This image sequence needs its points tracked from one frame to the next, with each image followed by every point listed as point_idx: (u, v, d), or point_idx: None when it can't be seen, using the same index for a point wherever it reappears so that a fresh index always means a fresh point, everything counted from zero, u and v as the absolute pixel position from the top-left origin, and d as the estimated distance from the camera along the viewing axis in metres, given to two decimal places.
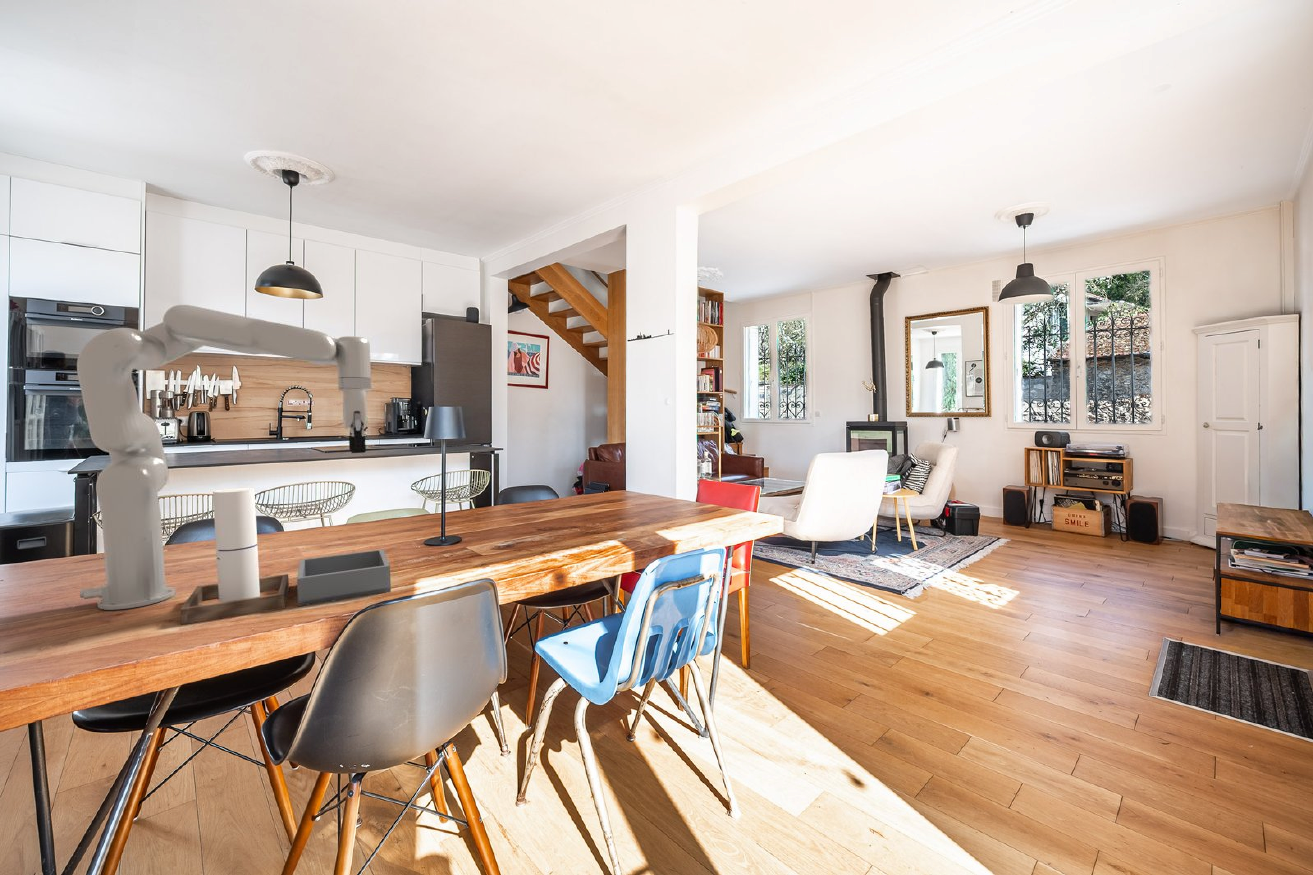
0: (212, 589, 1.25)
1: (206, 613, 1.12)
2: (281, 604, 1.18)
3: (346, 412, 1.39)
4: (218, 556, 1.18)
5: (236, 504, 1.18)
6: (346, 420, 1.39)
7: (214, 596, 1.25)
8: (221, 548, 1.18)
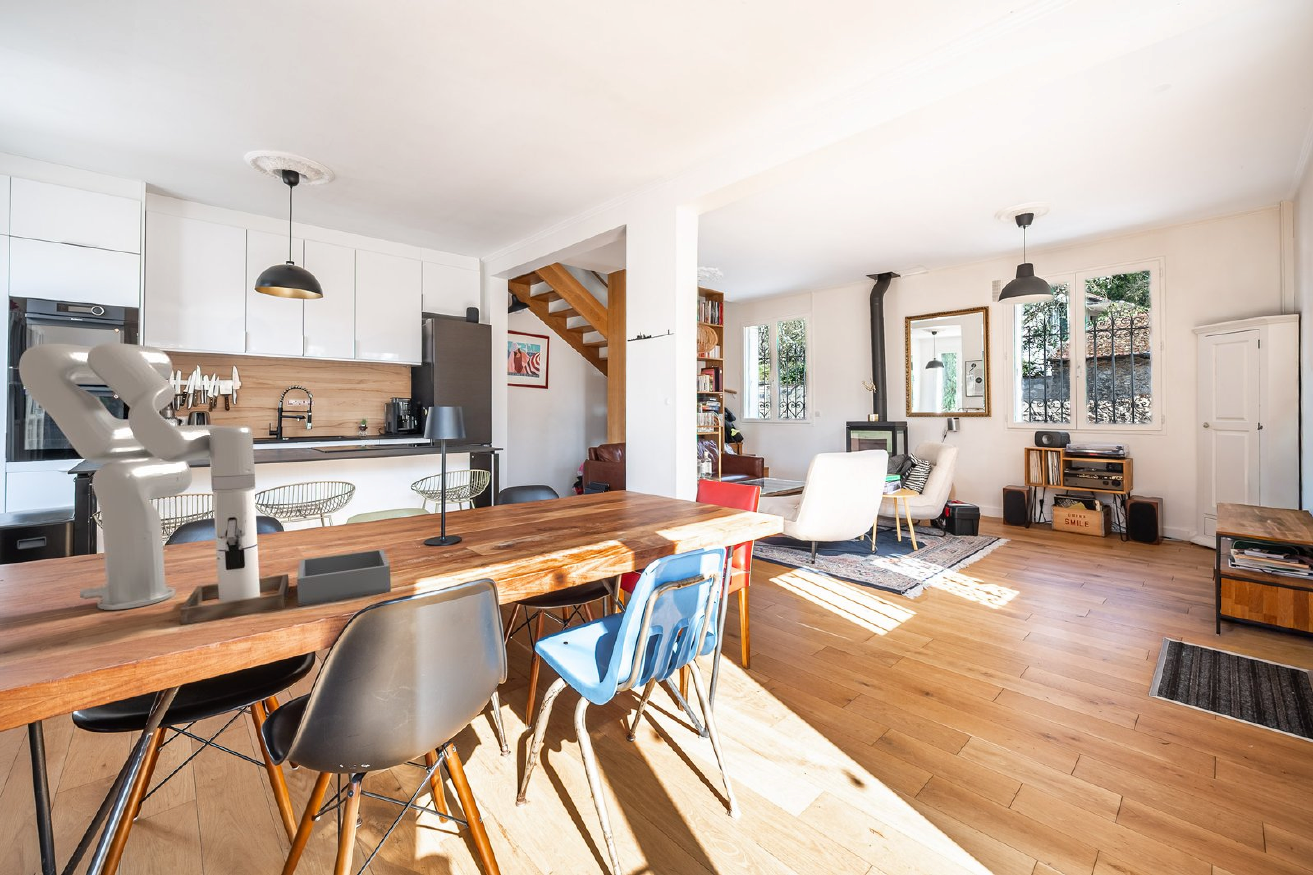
0: (212, 589, 1.25)
1: (206, 613, 1.12)
2: (281, 604, 1.18)
3: (218, 519, 1.15)
4: (218, 556, 1.18)
5: None
6: (218, 529, 1.15)
7: (214, 596, 1.25)
8: (221, 548, 1.18)
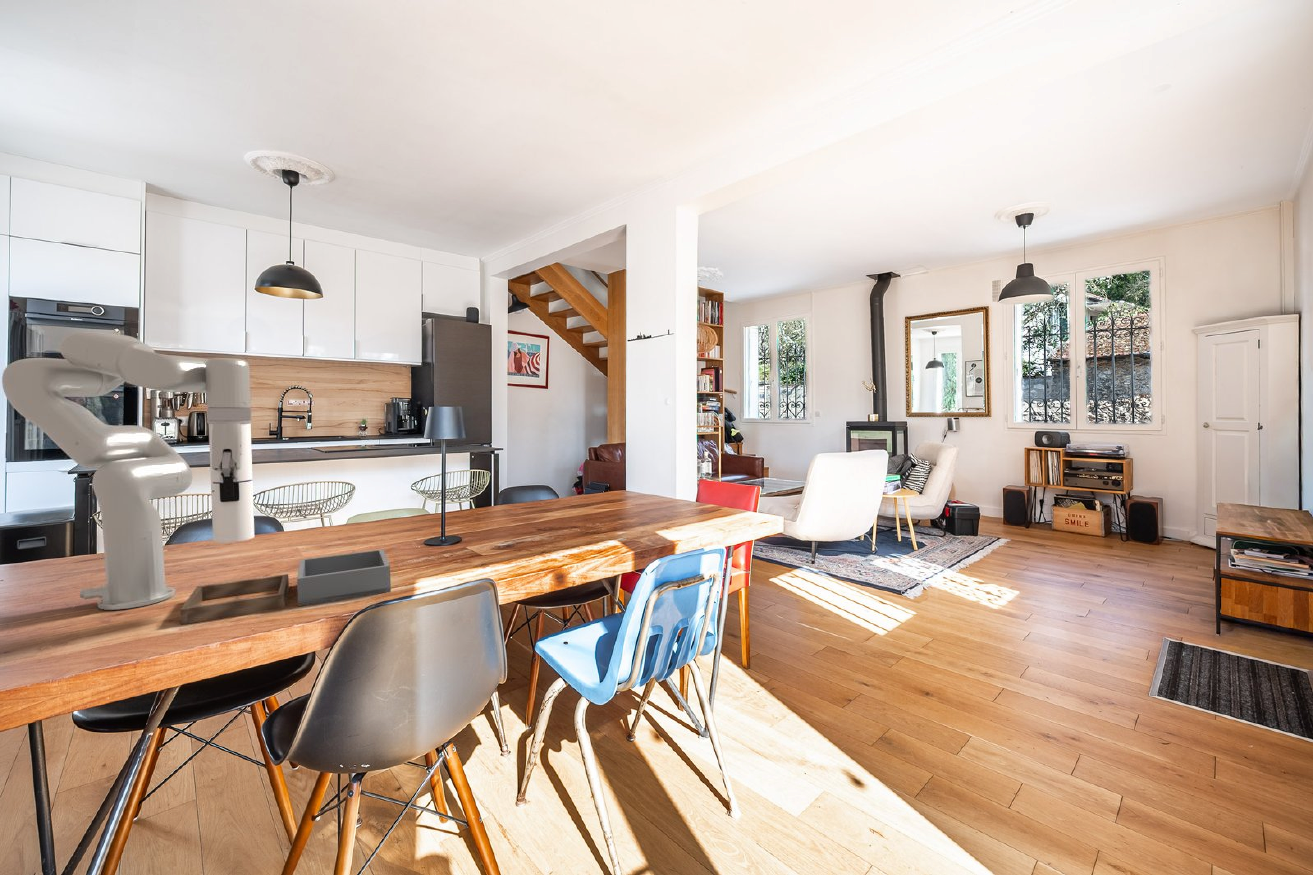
0: (212, 589, 1.25)
1: (206, 613, 1.12)
2: (281, 604, 1.18)
3: (213, 450, 1.15)
4: (213, 488, 1.17)
5: None
6: (213, 460, 1.15)
7: (214, 596, 1.25)
8: (216, 480, 1.17)
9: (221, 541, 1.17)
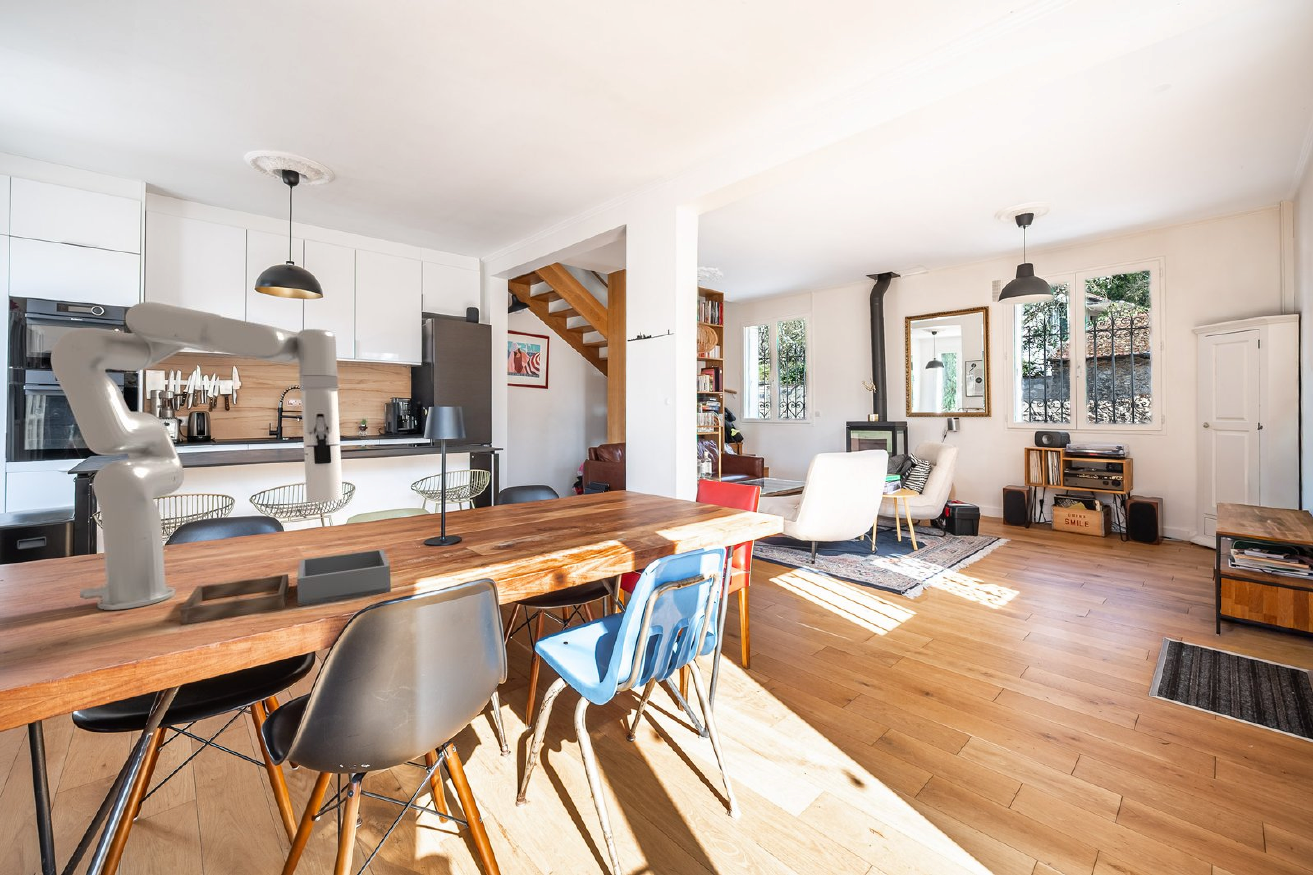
0: (212, 589, 1.25)
1: (206, 613, 1.12)
2: (281, 604, 1.18)
3: (308, 415, 1.23)
4: (306, 451, 1.25)
5: None
6: (308, 424, 1.23)
7: (214, 596, 1.25)
8: (309, 444, 1.25)
9: (315, 501, 1.25)
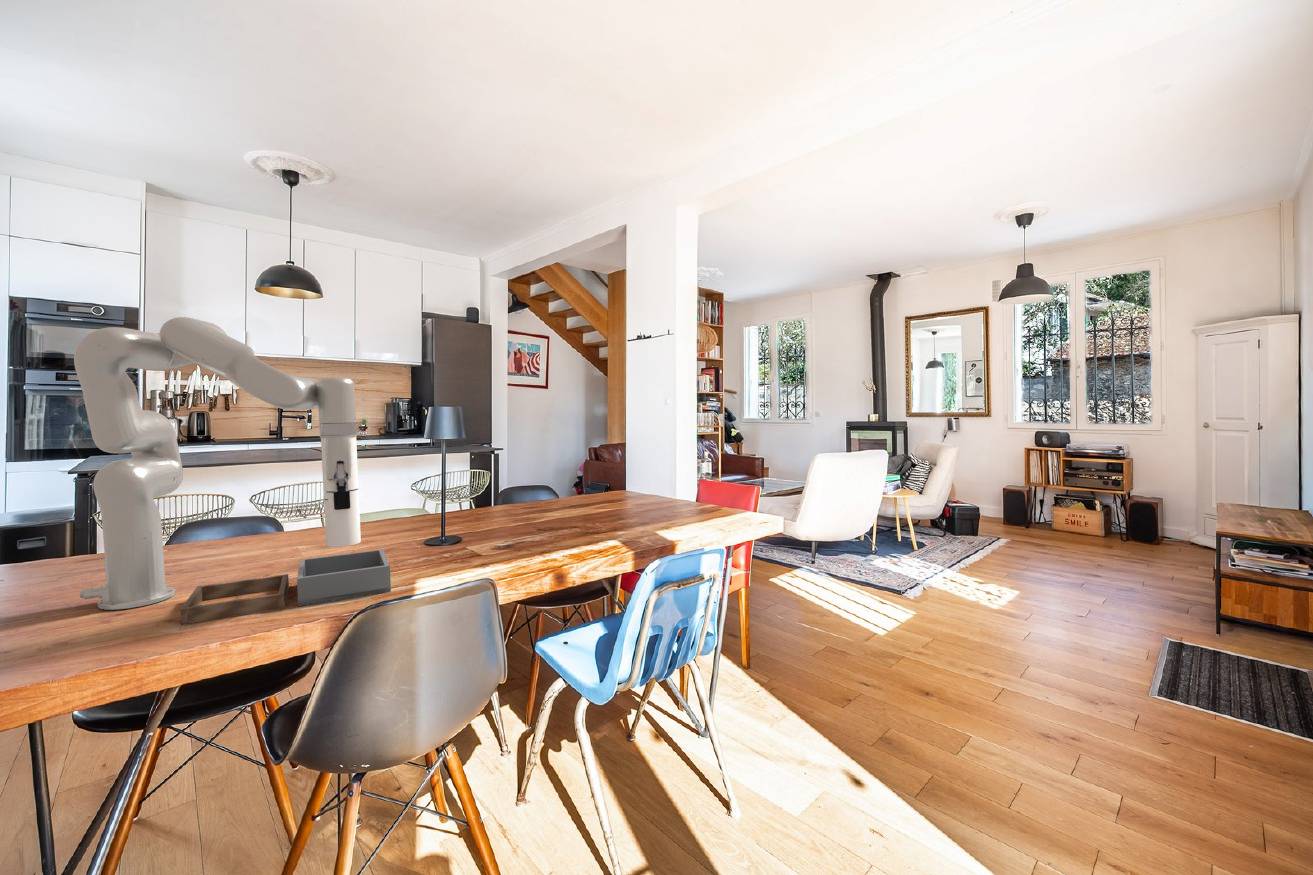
0: (212, 589, 1.25)
1: (206, 613, 1.12)
2: (281, 604, 1.18)
3: (328, 462, 1.25)
4: (326, 497, 1.28)
5: None
6: (328, 471, 1.25)
7: (214, 596, 1.25)
8: (329, 490, 1.27)
9: (335, 545, 1.28)
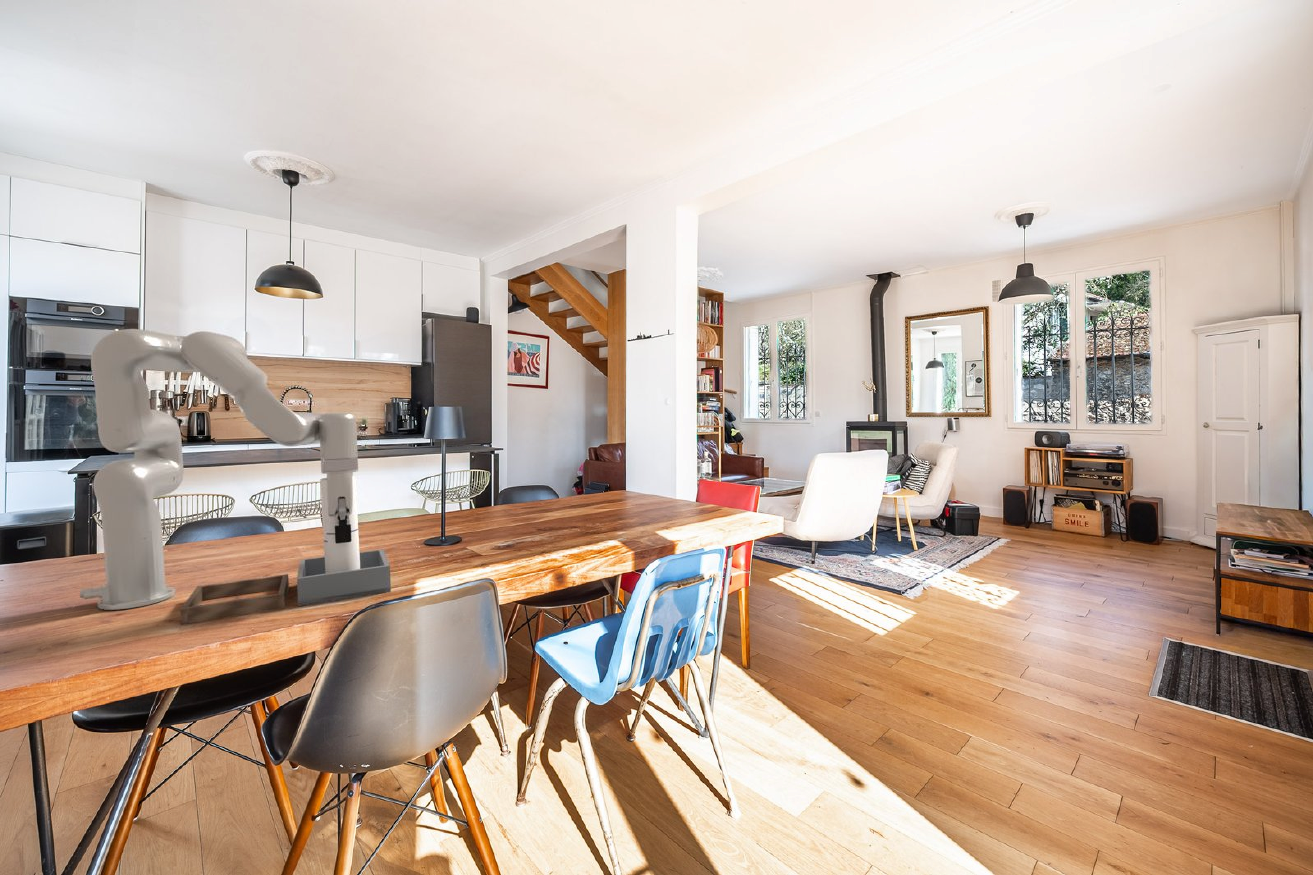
0: (212, 589, 1.25)
1: (206, 613, 1.12)
2: (281, 604, 1.18)
3: (329, 499, 1.25)
4: (326, 539, 1.28)
5: None
6: (329, 507, 1.25)
7: (214, 596, 1.25)
8: (329, 531, 1.28)
9: None
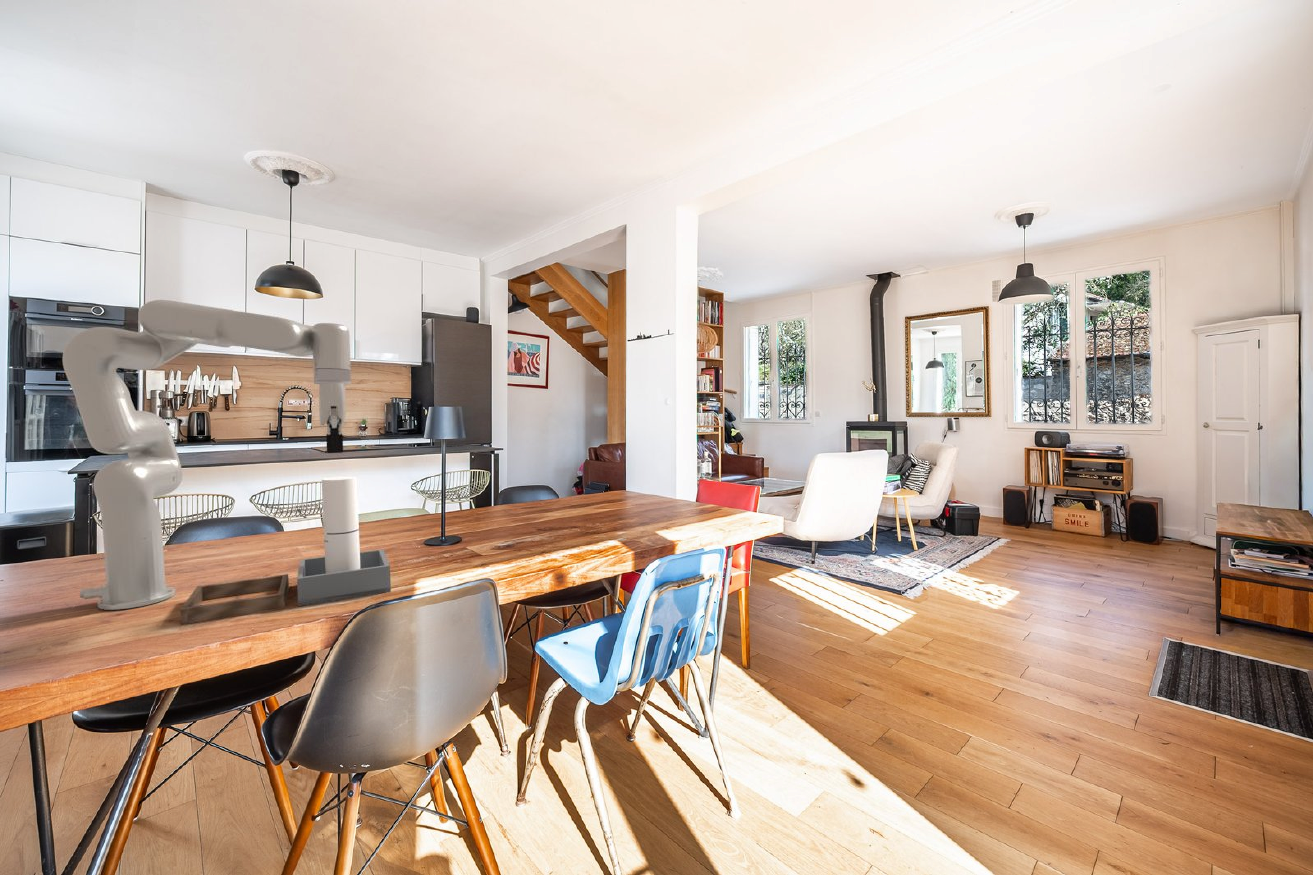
0: (212, 589, 1.25)
1: (206, 613, 1.12)
2: (281, 604, 1.18)
3: (321, 407, 1.25)
4: (326, 539, 1.28)
5: (344, 491, 1.28)
6: (321, 416, 1.25)
7: (214, 596, 1.25)
8: (330, 531, 1.28)
9: None
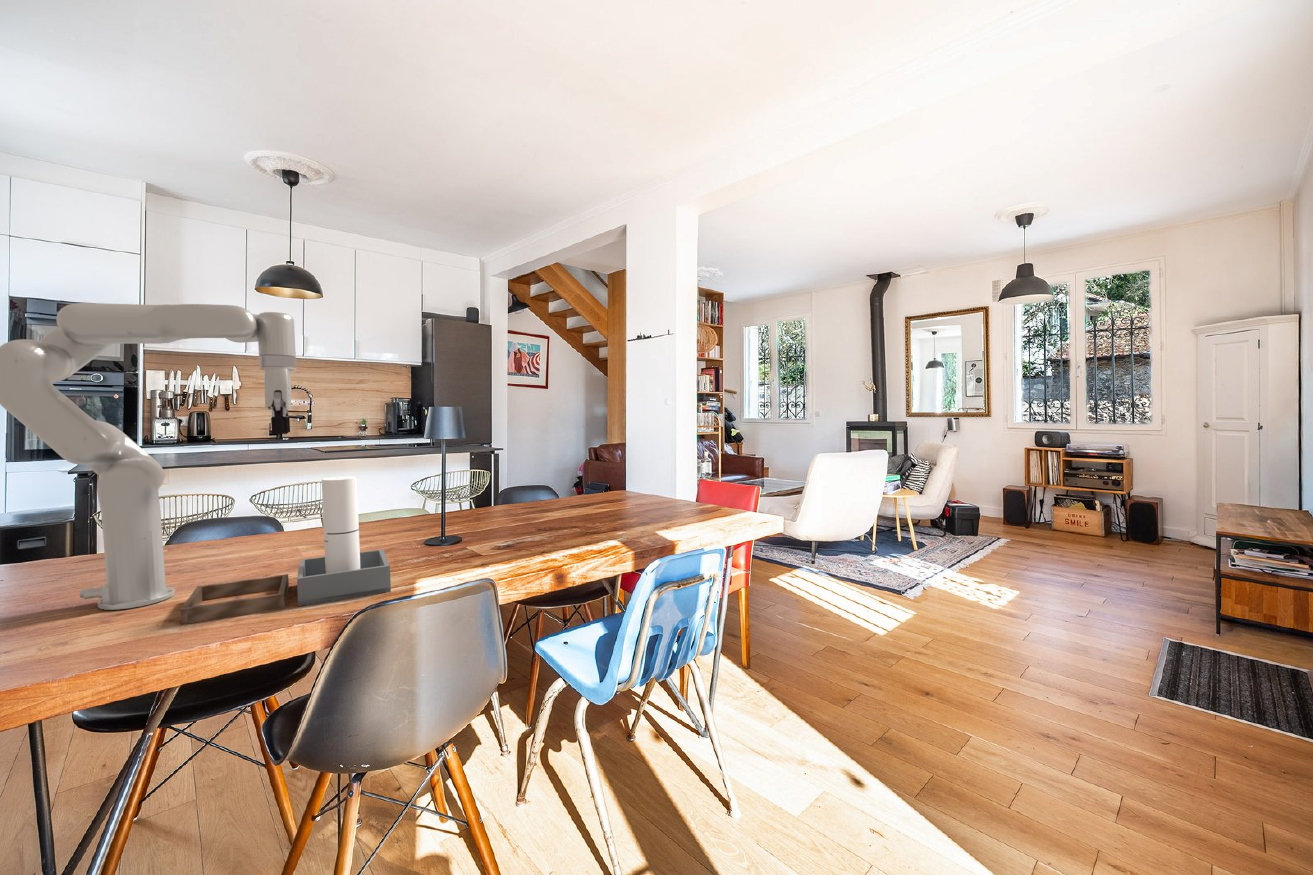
0: (212, 589, 1.25)
1: (206, 613, 1.12)
2: (281, 604, 1.18)
3: (266, 391, 1.33)
4: (326, 539, 1.28)
5: (344, 491, 1.28)
6: (266, 399, 1.33)
7: (214, 596, 1.25)
8: (330, 531, 1.28)
9: None
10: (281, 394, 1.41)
